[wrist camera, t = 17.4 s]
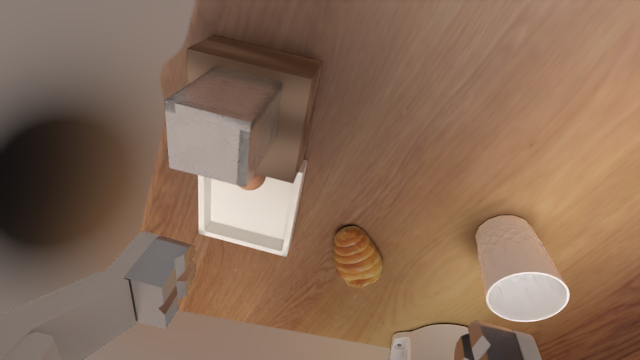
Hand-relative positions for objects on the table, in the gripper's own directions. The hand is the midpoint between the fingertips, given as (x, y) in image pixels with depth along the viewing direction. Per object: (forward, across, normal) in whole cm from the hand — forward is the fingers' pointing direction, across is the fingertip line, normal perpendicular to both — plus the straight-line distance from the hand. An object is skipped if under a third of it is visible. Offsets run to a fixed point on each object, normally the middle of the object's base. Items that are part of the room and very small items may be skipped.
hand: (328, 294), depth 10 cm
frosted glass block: (+25, +11, +7) cm, 28 cm away
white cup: (+31, -22, +19) cm, 43 cm away
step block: (+31, +11, +9) cm, 34 cm away
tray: (+31, +11, +23) cm, 40 cm away
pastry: (+32, -5, +29) cm, 43 cm away
